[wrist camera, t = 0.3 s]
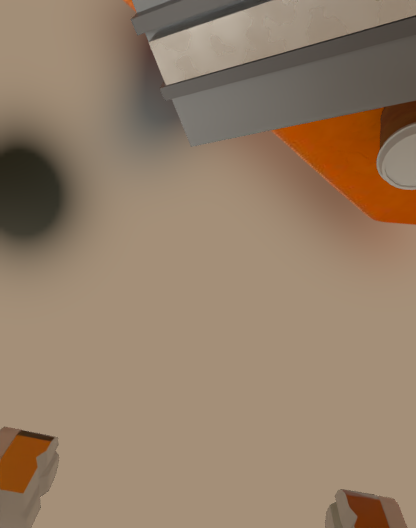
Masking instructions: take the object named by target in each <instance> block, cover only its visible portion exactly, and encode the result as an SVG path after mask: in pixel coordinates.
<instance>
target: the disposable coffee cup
mask: <svg viewBox="0 0 416 528" xmlns="http://www.w3.org/2000/svg"><path fill="white" fill-rule="evenodd" d="M377 170H378V172H379V174H380V175H381V177H382V178H383V179H384V180H386V181H387V182H388V183H389V184H391V185H392V186H394V187H397V188H400V189H411V190H413V189H416V101H411V102H406V103H401V104H396V105H391V106H386V107H385V108H384V110H383V112H382V115H381V131H380V151H379V153H378V157H377Z"/></svg>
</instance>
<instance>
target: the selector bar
mask: <svg viewBox="0 0 416 528" xmlns="http://www.w3.org/2000/svg"><path fill="white" fill-rule="evenodd" d="M415 15H416V0H247V1H244V2H241V3H238V4H235V5H232V6H229V7H226V8H224V9H221V10H218V11H215V12H212V13H209V14H206V15H203V16H201V17H198V18H195V19H192V20H189V21H186V22H183V23H180V24H177V25H175V26H172V27H169V28H166V29H163V30H160V31H157V32H156V33H155V34H154V36H153V37H152V38H151V40H150V41H149V44H150V47H151V49H152V52H153V54H154V57H155V59H156V62H157V64H158V67H159V69H160V72H161V74H162V77H163V79H164V82H165V84H166V85H169V84H173V83H177V82H180V81H184V80H187V79H191V78H194V77H198V76H201V75H205V74H209V73H212V72H216V71H219V70H223V69H226V68H230V67H233V66H237V65H240V64H244V63H248V62H251V61H255V60H258V59H262V58H265V57H269V56H272V55H276V54H280V53H283V52H287V51H290V50H294V49H297V48H301V47H304V46H308V45H312V44H315V43H319V42H322V41H326V40H329V39H333V38H336V37H340V36H343V35H347V34H351V33H354V32H358V31H361V30H365V29H368V28H372V27H375V26H379V25H383V24H386V23H390V22H393V21H397V20H400V19H404V18H407V17H411V16H415Z"/></svg>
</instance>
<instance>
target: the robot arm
mask: <svg viewBox="0 0 416 528" xmlns="http://www.w3.org/2000/svg"><path fill="white" fill-rule="evenodd" d="M57 446H58V437H55V436H50V435H44V434H40V433H34V432H29V431H24V430H20V429H15V428H8V427H3V428H2V429H1V430H0V528H31V527H32V525H33V523H34V521H35V518H36V516H37V514H38V512H39V510H40V508H41V505H40V497H41V496H42V495H44V494H45V493H46V492H48V491H49V489H50V487H51V485H52V483H53V480H54V478H55V474H56V471H57V468H58V462H59V455H58V454H57V452H56V451H55V450H56V448H57ZM335 498H336V502H335V503H333V504H331V505H330V506H329V508H328V510H327V512H326V520H325V527H326V528H407V526H406V523H405V521H404V518H403V515H402V513H401V510H400V508H399V505H398V503H397V502H396V501H395V499H392V498H389V497H382V496H377V495H374V494H368V493H362V492H356V491H350V490H344V489H340V490H338V491H337V493H336V495H335Z"/></svg>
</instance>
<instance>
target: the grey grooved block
mask: <svg viewBox="0 0 416 528" xmlns="http://www.w3.org/2000/svg"><path fill="white" fill-rule="evenodd" d="M132 1H133V4H134V6H135V9H136V11H137V14H136V15H135V16H134V17H133V18H132V19H131V21H132V24H133V26H134V28H135V31H136V33H137V35H140V34H143V33H145V34H146V36H147V39H148V41H150V40H151V38H152V37H153V36H154V34H155V33H156V32H157V31H160V30H163V29H166V28H169V27H172V26H175V25H177V24H180V23H183V22H186V21H189V20H192V19H195V18H198V17H201V16H203V15H206V14H209V13H212V12H215V11H218V10H221V9H224V8H226V7H229V6H232V5H235V4H238V3H241V2H244V1H247V0H132ZM160 90H161V93H162V95H163V98H164V100H165V101H166V100H170V99H172V101H173V103H174V105H175V108H176V110H177V113H178V115H179V118H180V120H181V123H182V125H183V128H184V130H185V133H186V135H187V138H188V140H189V143H190V145H191V146H197V145H201V144H206V143H211V142H216V141H221V140H225V139H231V138H236V137H240V136H245V135H250V134H255V133H259V132H265V131H270V130H274V129H279V128H284V127H289V126H294V125H299V124H304V123H309V122H313V121H318V120H323V119H328V118H333V117H338V116H343V115H348V114H352V113H357V112H362V111H367V110H372V109H377V108H382V107H386V106H391V105H396V104H401V103H406V102H411V101H416V15H415V16H411V17H407V18H404V19H400V20H397V21H393V22H390V23H386V24H383V25H379V26H375V27H372V28H368V29H365V30H361V31H358V32H354V33H351V34H347V35H343V36H340V37H336V38H333V39H329V40H326V41H322V42H319V43H315V44H312V45H308V46H304V47H301V48H297V49H294V50H290V51H287V52H283V53H280V54H276V55H272V56H269V57H265V58H262V59H258V60H255V61H251V62H248V63H244V64H240V65H237V66H233V67H230V68H226V69H223V70H219V71H216V72H212V73H209V74H205V75H201V76H198V77H194V78H191V79H187V80H184V81H180V82H177V83H173V84H169V85H166V84H165V82H163V84H162V85H161V87H160Z"/></svg>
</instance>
